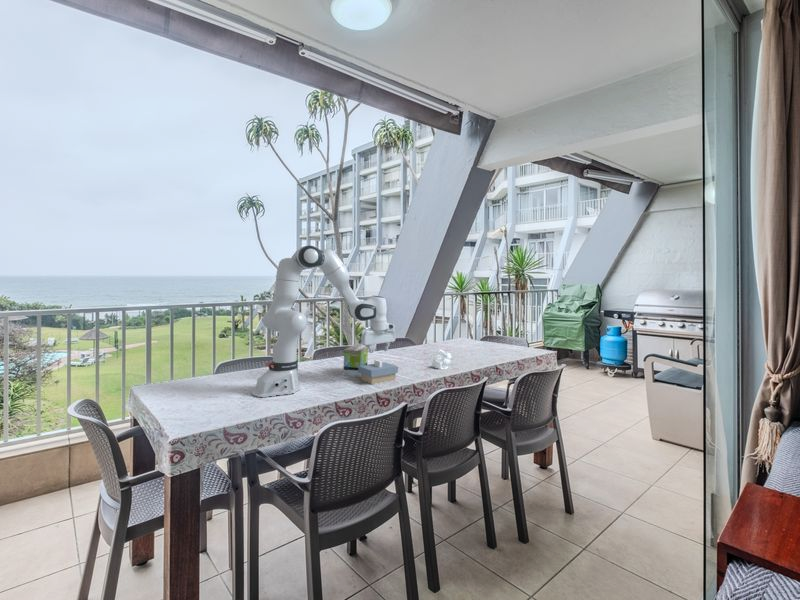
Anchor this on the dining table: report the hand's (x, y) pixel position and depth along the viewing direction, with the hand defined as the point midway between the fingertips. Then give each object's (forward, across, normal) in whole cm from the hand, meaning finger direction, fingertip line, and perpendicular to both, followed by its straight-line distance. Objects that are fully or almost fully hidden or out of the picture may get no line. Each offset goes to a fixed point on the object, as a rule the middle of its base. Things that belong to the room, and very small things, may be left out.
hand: (378, 351), depth 211 cm
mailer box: (+15, -1, 0) cm, 15 cm away
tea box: (+16, -2, +20) cm, 25 cm away
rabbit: (+16, +46, 0) cm, 49 cm away
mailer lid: (+11, -1, 0) cm, 11 cm away
